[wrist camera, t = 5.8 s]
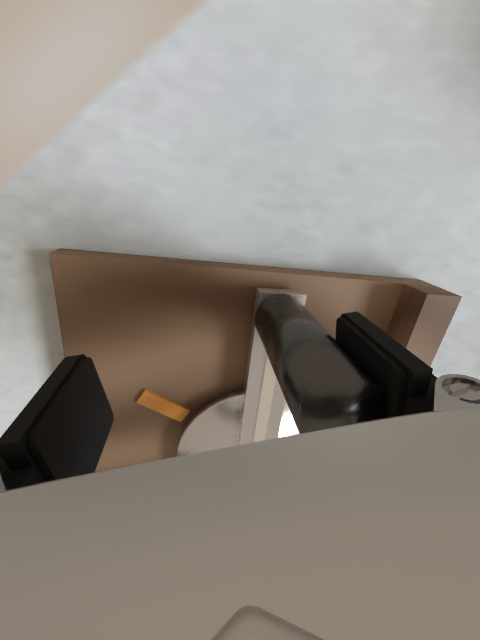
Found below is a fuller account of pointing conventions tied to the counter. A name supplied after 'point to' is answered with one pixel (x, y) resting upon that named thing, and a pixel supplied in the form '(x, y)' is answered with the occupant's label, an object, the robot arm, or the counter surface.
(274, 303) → the silver piece
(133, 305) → the brown wooden tray
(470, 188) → the counter surface
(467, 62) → the counter surface
